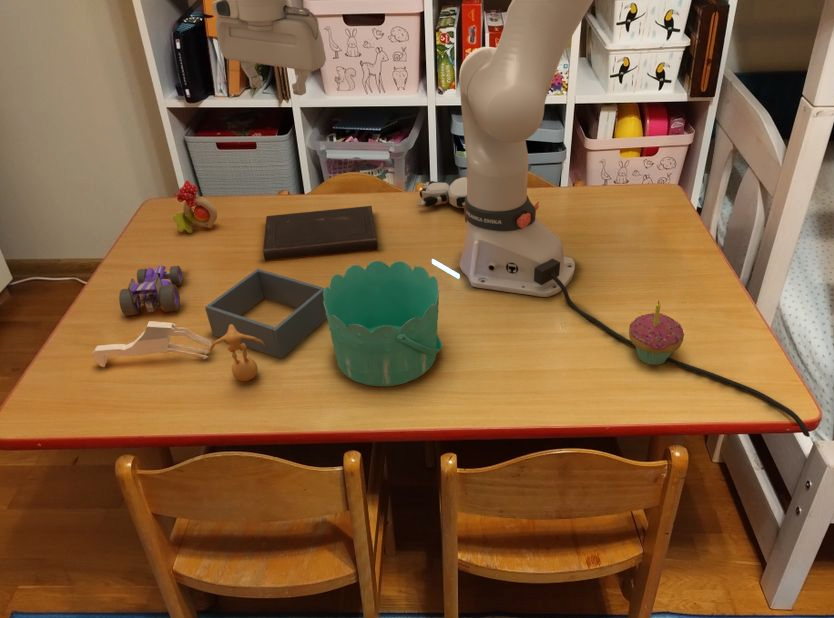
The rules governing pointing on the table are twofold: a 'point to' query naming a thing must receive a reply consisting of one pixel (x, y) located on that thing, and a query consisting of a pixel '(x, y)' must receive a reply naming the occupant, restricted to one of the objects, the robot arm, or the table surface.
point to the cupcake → (655, 336)
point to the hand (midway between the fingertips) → (278, 90)
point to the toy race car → (152, 291)
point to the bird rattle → (202, 212)
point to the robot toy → (444, 193)
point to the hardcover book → (319, 233)
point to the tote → (275, 289)
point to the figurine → (241, 366)
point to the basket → (383, 322)
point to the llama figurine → (152, 343)
